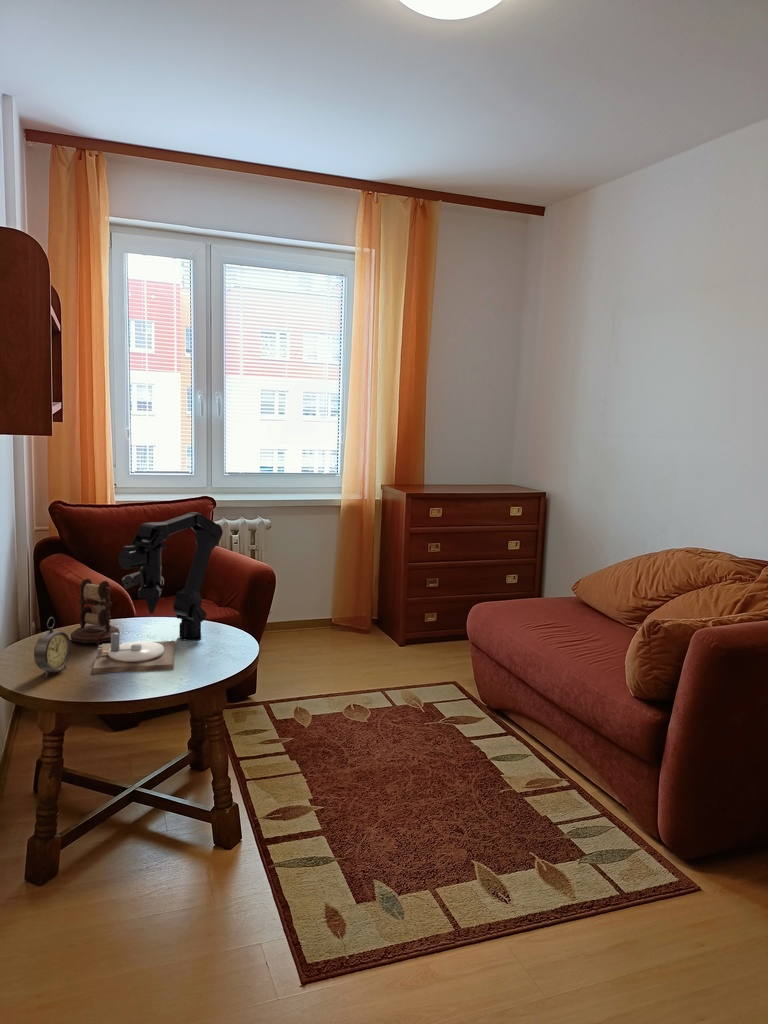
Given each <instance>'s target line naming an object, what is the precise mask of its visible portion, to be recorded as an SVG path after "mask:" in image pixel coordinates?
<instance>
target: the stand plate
mask: <svg viewBox="0 0 768 1024" xmlns="http://www.w3.org/2000/svg"><path fill="white" fill-rule="evenodd" d="M154 642H155V643H159V644H161V645H162V646H163V647H164V653H163V654H162V655H161V656H159V657H157V658H154V659H150V660H146V661H138V662H124V661H117V660H113V659H111V658H110V657H109V656H108V653H104V654H103V651H108V650H109V649H110V648H111V642H109V643H102V644H100V645H99V646H98V647H97V649H96V650H97V656H96V658H95V661H94V664H93V666H92V674H103V673H125V672H129V673H130V672H144V671H146V672H147V671H163V670H164V671H166V670H167V671H168V670H174V667H175V666H174V664H175V653H174V652H175V651H176V649H175V648H176V640H167V641H166V640H165V641H163V640H161V641H154ZM122 643H123V642H119V644H122Z"/></svg>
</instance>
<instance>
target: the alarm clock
mask: <svg viewBox="0 0 768 1024" xmlns="http://www.w3.org/2000/svg"><path fill="white" fill-rule="evenodd" d="M51 619H52V620H53V624H52V626H50V627H49V622H50V620H51ZM55 623H56V620H55V618H54V617H53V616H50V617H49V618H48V620H47V622H46V626H47V627H46V628H47V629H49V631H48V630H47V631H46V632H44V633H42V634H41V635H40V636H39V638H38V639H37V641H36V642H35V646H34V650H33V658H34V662H35V664H36V666H37V667H38V669H40V670H42V671H44V672H45V675H44V678H45V679H47V678H48V675H49V672H59V671H60V670H62V669H63V668H67V666H66V665H67V664H68V662H69V659H70V657H71V651H72V643H71V638H70V637H69V635H68V633H66V632H64V631H56V630H55V631H54V629H53V628H54V626H55Z"/></svg>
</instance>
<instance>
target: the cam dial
mask: <svg viewBox="0 0 768 1024" xmlns="http://www.w3.org/2000/svg"><path fill="white" fill-rule="evenodd" d="M155 642H156V641H144V640H143V641H142V640H141V641H139V640H137V641H129V642H121V643H122V644H119V643H120V635H119V633H111V640H110V643H111V648H110V649H109V650H108V651H103V654H104V653H108V656H109V657H110V658H111V659H113V660H117V661H124V662H138V661H146V660H150V659H154V658H157V657H159V656H161V655H162V654H163V653H164V647H163V646H162V645H161V644H159V643H155Z"/></svg>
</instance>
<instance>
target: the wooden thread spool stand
mask: <svg viewBox="0 0 768 1024" xmlns="http://www.w3.org/2000/svg"><path fill="white" fill-rule="evenodd" d="M78 588H79V593H80V594H79V599H78V603H79V606H80V608H79V611H80V612H79V614H78V615H79V620H80V623H79V625H80V627H78V628H75V630H73V631H71V633H70V641H71V642H72V643H75V642H78V643H86V644H87V643H89V644H91V643H92V644H93V643H96V646H97V647H99V645H101V643H102V642H109V641H111V633H119V636H121V635H120V629H119V628H118V627H115V626H114V625H111V624H110V623H111V619H112V616H111V610H110V608H111V607H112V602H111V601H110V600H111V597H110V595H111V593H110V592H112V591H111V590H112V588H111V587H110V583H109V582H108V581H107V580H102V581H101V582H100V583H99V584H94V583H92V580H91V579H90V578H84V579H83V580H82V582H80V584H79V586H78ZM85 605H91V606H92V608H91V607H90V606H85ZM86 624H88V625H86Z"/></svg>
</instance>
